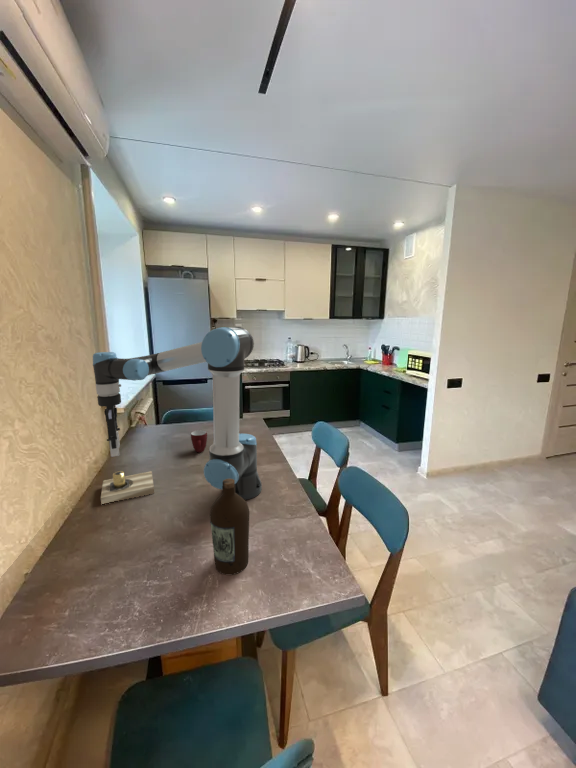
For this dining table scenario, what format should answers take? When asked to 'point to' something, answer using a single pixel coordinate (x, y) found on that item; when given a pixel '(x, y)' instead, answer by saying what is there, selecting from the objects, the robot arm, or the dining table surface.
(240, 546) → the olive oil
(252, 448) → the robot arm
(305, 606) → the dining table surface
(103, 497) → the jig
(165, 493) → the dining table surface
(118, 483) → the cylinder with metal cap
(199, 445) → the mug
